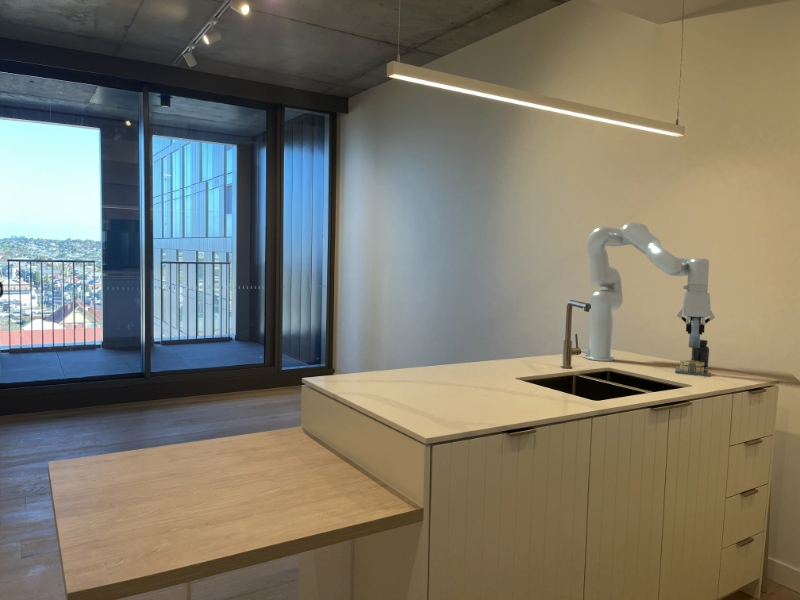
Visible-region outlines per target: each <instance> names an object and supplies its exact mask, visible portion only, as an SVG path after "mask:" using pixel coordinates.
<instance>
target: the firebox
mask: <svg viewBox="0 0 800 600" xmlns="http://www.w3.org/2000/svg"><path fill="white" fill-rule="evenodd" d="M679 361H680V362H679V363H680V364H679V366H676V367H675V370H674V371H675V372H674V373H675V374H680V375H690V376H698V375H699V377H700V376H701V377H709V370H708V369H705V368H704V367H703V366H704V362H700V361H695V360H691V359H681V360H679Z"/></svg>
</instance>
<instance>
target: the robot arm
mask: <svg viewBox="0 0 800 600" xmlns="http://www.w3.org/2000/svg"><path fill="white" fill-rule="evenodd" d="M630 245H632V246H633V247H634V248H635V249H637V250H638V251H639V252H641V253H642V254H643V255H644V256H646V258H647V259H648V260H649V261H650V262H651V263H652V264H653V265H654V266H656V267H657V268H658V269H659V270H661V271H662V272H663V273H664V274H667V275H669V276H673V277H687V282H686V283H687V284H686V285H683V290H686V291H685V292H684V294H683V298H682V299H683V300H682V309H680V311H678V313H677V316H676V317H678V318H679V319H681V320H682V322H684V323H685V324H686V325H685V332H686V333H687V335H689V334H690V317H701V329H700V336H701V335H703V334H705V325H707V323H709V322H710V321H713V320H714V319H716V316H715V315H714V313H713V312H712V310H711V295H710V292H708V288H709V287H708V286H709V275H710V274H709V272H710V261H709V260H708V258H701V257H699V258H691V259H690V258H684V257H676V256H674V255H673V254H672V253H670V252H669V251H667V250H666V249H665V248H664V247H663V246H662V244H661V240H660V238H658V237H657V236H655V235H654V234H653V233H651V232H650V230H649V228H648V226H646V225H645V224H642V223H641V222H640V223H639V222H634V221H633V222H627V223H625V224H624V225H623V226H622V227H612V226H604V225H603V226H599V227H597V228H595V229H593V231H591V233H590V234H589V236H588V238H587V242H586V250H587V255H588V267H589V276H590V277H589V278H590V282H591V284H592V285H593V286H594V287H599V288H601V289H598V290H596V291H594V292H593V293H592V294H591V295H590V297H589V305H590V304H591V309H590V308H589V310H590V326H589V329H590V330H589V341H588V342H589V343H588V344H589V345H588V348H586V349H585V348H580V349H581V351H582V353H581V354H585V355H584V358H585V359H586V360H592V361H599V362H600V361H601V362H613V361H614V360H615V357H614V356H611V355H612V342H613V341H612V339H613V337H612V336H613V313H612V311H616V310H618V309H620V307H621V306H622V304H623V301H624V300H623V287H622V279H621V275H620V272H619V271H618V270H617V269H616V268H615V267H614V266H610V263H609V255H608V252H607V249H606V247H608V246H609V247H621V246H630Z"/></svg>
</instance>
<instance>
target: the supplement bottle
mask: <svg viewBox="0 0 800 600" xmlns="http://www.w3.org/2000/svg"><path fill="white" fill-rule="evenodd" d="M690 358H691V359H690V360H695V361H700V362H704V366H703V367H709V363H710V362H709V359H710V347H709V346H708V340H707V339H701V338H700V348H691V356H690Z"/></svg>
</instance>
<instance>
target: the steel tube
mask: <svg viewBox="0 0 800 600" xmlns="http://www.w3.org/2000/svg"><path fill="white" fill-rule="evenodd" d="M689 322H690V334H688V336H689V338H688V348H691V349H692V348H700V339H701V334H700V329H701V323H702V319H701V317H690V320H689Z"/></svg>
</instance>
